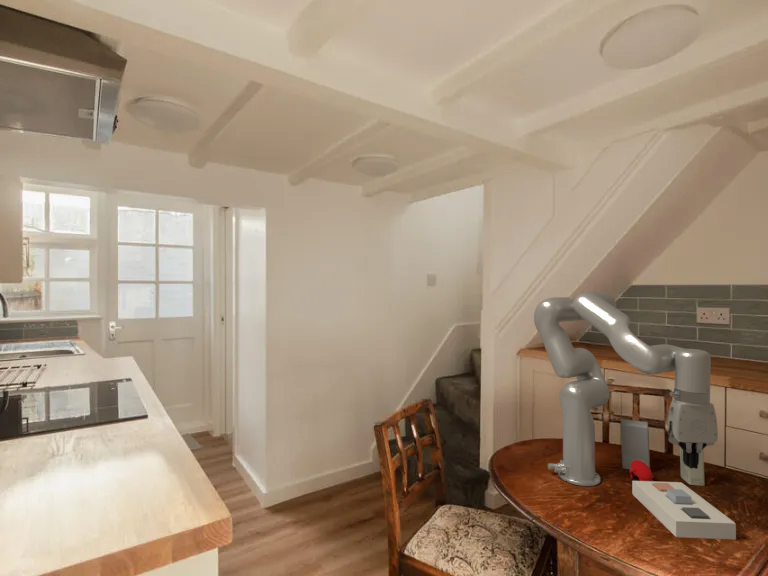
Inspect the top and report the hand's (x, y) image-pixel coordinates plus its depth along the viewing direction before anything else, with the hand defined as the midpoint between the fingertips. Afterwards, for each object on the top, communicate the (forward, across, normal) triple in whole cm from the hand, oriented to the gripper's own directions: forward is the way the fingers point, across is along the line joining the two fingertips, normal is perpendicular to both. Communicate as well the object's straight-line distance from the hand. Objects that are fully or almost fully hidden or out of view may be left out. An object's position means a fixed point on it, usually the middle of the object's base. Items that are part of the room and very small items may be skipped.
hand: (690, 466), depth 111 cm
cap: (+16, 0, +25) cm, 30 cm away
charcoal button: (+14, 0, -2) cm, 14 cm away
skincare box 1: (+16, +3, +35) cm, 39 cm away
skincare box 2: (+16, +16, +26) cm, 35 cm away
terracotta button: (+14, 0, +12) cm, 19 cm away
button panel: (+16, 0, +5) cm, 16 cm away
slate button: (+13, 0, +5) cm, 14 cm away
